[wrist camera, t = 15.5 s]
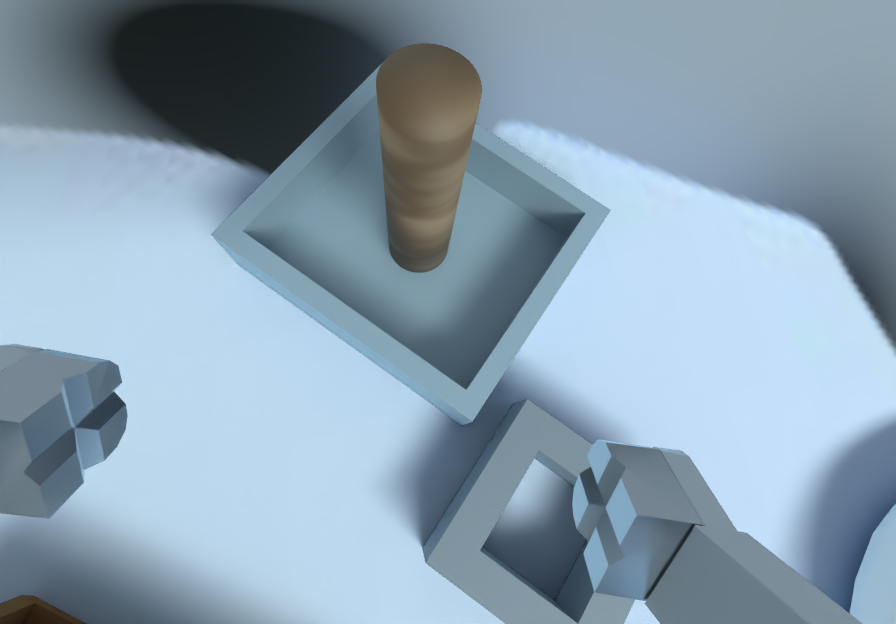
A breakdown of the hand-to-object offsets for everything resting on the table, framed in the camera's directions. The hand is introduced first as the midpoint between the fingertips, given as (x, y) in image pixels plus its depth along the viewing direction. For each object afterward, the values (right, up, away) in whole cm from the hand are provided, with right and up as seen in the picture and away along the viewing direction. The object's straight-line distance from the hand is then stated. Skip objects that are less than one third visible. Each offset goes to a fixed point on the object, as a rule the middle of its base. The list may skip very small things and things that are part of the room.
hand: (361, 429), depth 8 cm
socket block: (+7, -11, +19) cm, 23 cm away
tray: (-1, +6, +23) cm, 24 cm away
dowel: (-1, +7, +22) cm, 23 cm away
